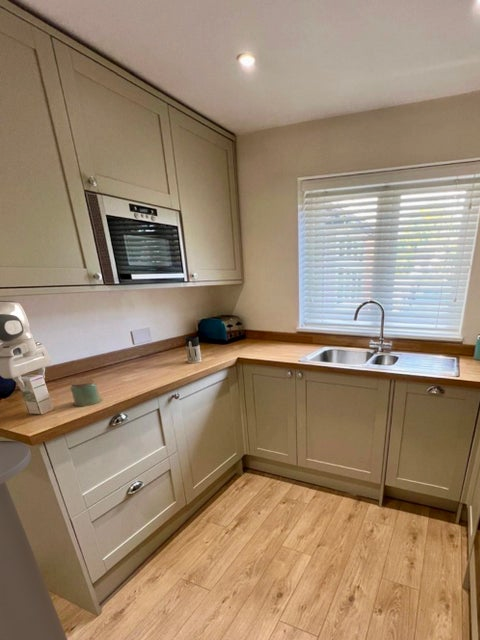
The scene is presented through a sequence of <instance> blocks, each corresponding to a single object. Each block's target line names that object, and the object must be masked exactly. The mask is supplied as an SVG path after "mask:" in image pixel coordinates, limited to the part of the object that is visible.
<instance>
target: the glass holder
mask: <svg viewBox="0 0 480 640" xmlns="http://www.w3.org/2000/svg"><path fill="white" fill-rule="evenodd" d="M184 340H185V350H186V356H187V363H188V364H198V363H199V364H200V363H202V362H203V360H202V355H201V347H200V341H199V336H194V335H192V336H185V337H184Z"/></svg>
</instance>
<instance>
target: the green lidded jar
mask: <svg viewBox="0 0 480 640" xmlns="http://www.w3.org/2000/svg"><path fill="white" fill-rule="evenodd" d="M69 388H70V392H71V395H72V399H73V403H74V405H75V406H76V407H86V406H92V405H95V404H98V403H100V402H101V397H100V393H99V389H98V385H97V383H96V382H95V380H94V379H93V378H85V379H78V380H75V381H72V382H71V383H70V387H69Z"/></svg>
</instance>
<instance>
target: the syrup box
mask: <svg viewBox="0 0 480 640" xmlns="http://www.w3.org/2000/svg"><path fill="white" fill-rule="evenodd" d="M21 377H22V378H20V379H21V380H22V381H23V382H26V385H27V386H25V387H19V389H20V393H21V395H22V398H23V401H24V404H25V405H26V406H25V407H26V409H27V412H28V414H29V415H44V414H46V413H49V412H51V411H53V410H54V406H53V403H52V400H51V397H50V394H49V391H48V388H47V385H46V381H45V378H43V375H38V374H25V375H22V376H21Z"/></svg>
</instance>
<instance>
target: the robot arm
mask: <svg viewBox="0 0 480 640" xmlns="http://www.w3.org/2000/svg"><path fill="white" fill-rule="evenodd" d="M51 363H52V359H51V357H50V354H49V352H48V350H47V348H45V345H44V343H41V342H39V341H38V342H36V341H35V338H34V335H33V334H32V332H31V325H30V322H29V319H28V317H27V314H26V312H25V310H24V307H23V306H22V305H21V304H20V303H19V302H17V301H14V300H0V377H1V378H3V379H12V380H13V381H14V382H15V383H16V384H17V386H18V388H20V387H25V386H27V385H26V382H23V381H22V380H21V379H20V378H22V377H23V376H24V375H27V374H29V373H31V372H34V371H38V372H37V373H38V374H37V375H43V378H44V379H46V376H45V374H46V373H45V372H46V367H48V366H50V365H51Z"/></svg>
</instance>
